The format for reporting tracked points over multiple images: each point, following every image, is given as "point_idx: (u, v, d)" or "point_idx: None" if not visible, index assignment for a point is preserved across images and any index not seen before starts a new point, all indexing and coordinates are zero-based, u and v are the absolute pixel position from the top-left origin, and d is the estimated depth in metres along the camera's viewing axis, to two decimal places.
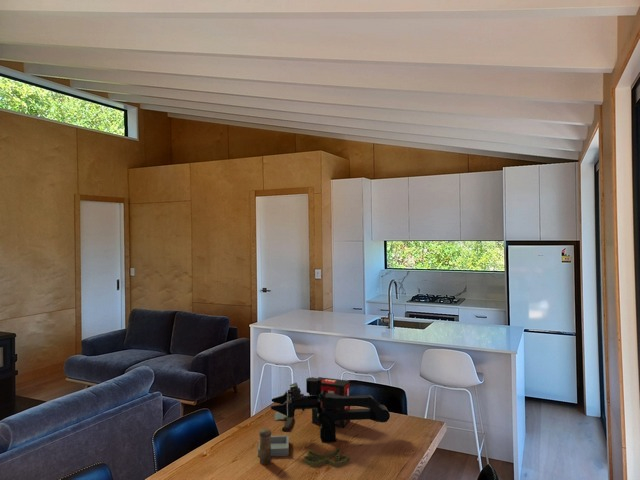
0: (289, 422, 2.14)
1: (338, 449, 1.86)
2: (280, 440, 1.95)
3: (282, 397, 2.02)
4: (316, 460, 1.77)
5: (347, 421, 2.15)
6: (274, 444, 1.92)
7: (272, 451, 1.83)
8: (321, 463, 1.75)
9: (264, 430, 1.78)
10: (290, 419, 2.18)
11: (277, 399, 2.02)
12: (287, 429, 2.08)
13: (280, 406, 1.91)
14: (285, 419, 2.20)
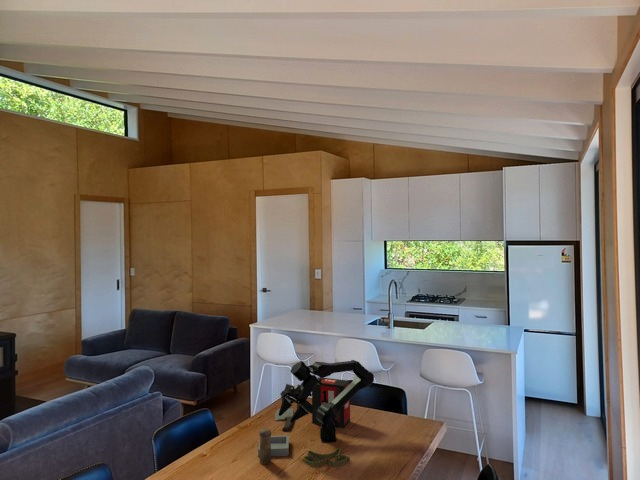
0: (289, 422, 2.14)
1: (338, 449, 1.86)
2: (280, 440, 1.95)
3: (284, 404, 1.92)
4: (316, 460, 1.77)
5: (347, 421, 2.15)
6: (274, 444, 1.92)
7: (272, 451, 1.83)
8: (321, 463, 1.75)
9: (264, 430, 1.78)
10: (290, 419, 2.17)
11: (282, 409, 1.91)
12: (287, 429, 2.08)
13: (297, 412, 1.83)
14: (285, 419, 2.20)
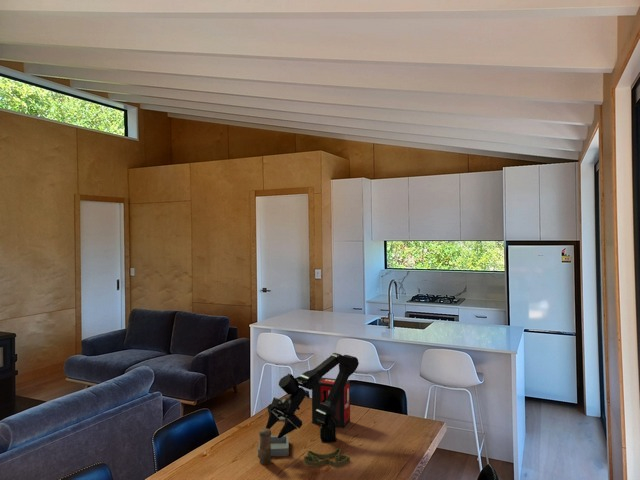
0: None
1: (338, 449, 1.86)
2: (280, 440, 1.95)
3: (271, 418, 1.86)
4: (316, 460, 1.77)
5: (347, 421, 2.15)
6: (274, 444, 1.92)
7: (272, 451, 1.83)
8: (321, 463, 1.75)
9: (264, 430, 1.78)
10: None
11: (269, 424, 1.85)
12: None
13: (285, 428, 1.77)
14: None
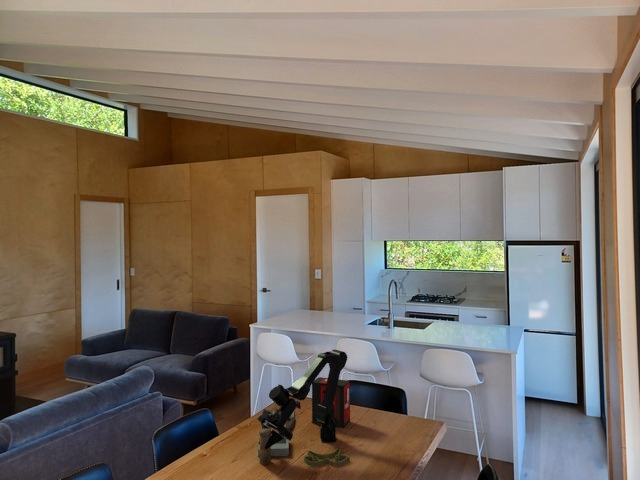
0: (290, 423, 2.13)
1: (338, 449, 1.86)
2: None
3: None
4: (316, 460, 1.77)
5: (347, 421, 2.15)
6: (274, 444, 1.92)
7: (272, 451, 1.83)
8: (321, 463, 1.75)
9: (264, 430, 1.78)
10: (291, 420, 2.17)
11: None
12: (289, 430, 2.07)
13: (272, 438, 1.76)
14: None
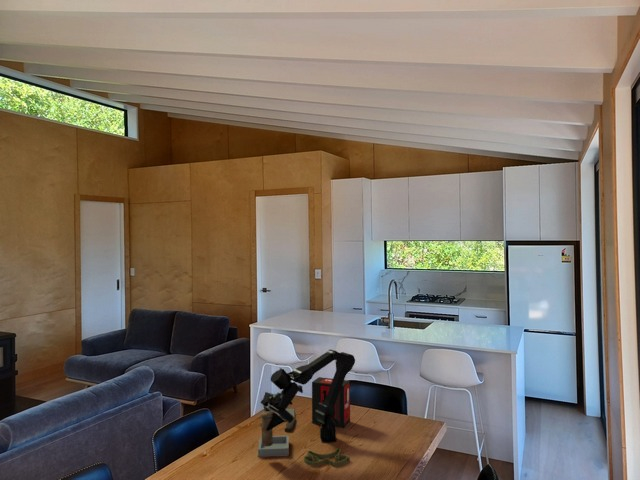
0: (291, 423, 2.13)
1: (338, 449, 1.86)
2: (280, 440, 1.95)
3: None
4: (316, 460, 1.77)
5: (347, 421, 2.15)
6: (274, 444, 1.92)
7: (272, 451, 1.83)
8: (321, 463, 1.75)
9: (266, 413, 1.81)
10: None
11: None
12: (289, 430, 2.07)
13: (273, 421, 1.79)
14: None
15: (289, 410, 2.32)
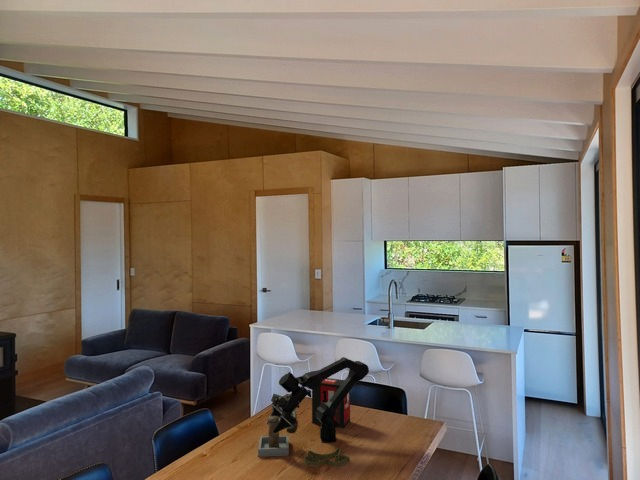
0: None
1: (338, 449, 1.86)
2: (280, 440, 1.95)
3: (273, 413, 1.94)
4: (316, 460, 1.77)
5: (347, 421, 2.15)
6: None
7: (272, 451, 1.83)
8: (321, 463, 1.75)
9: (272, 417, 1.90)
10: None
11: None
12: (291, 430, 2.06)
13: (280, 424, 1.84)
14: None
15: None
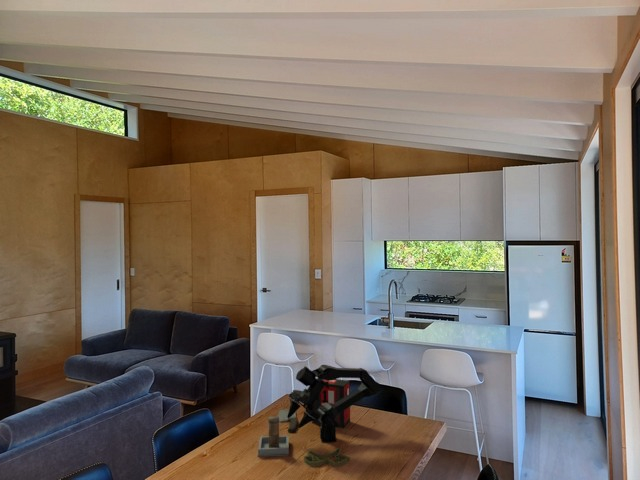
0: (294, 423, 2.12)
1: (338, 449, 1.86)
2: (280, 440, 1.95)
3: (292, 406, 1.98)
4: (316, 460, 1.77)
5: (347, 421, 2.15)
6: None
7: (272, 451, 1.83)
8: (321, 463, 1.75)
9: (273, 417, 1.90)
10: (294, 420, 2.16)
11: (291, 412, 1.97)
12: (293, 430, 2.06)
13: (304, 419, 1.88)
14: (289, 420, 2.19)
15: None
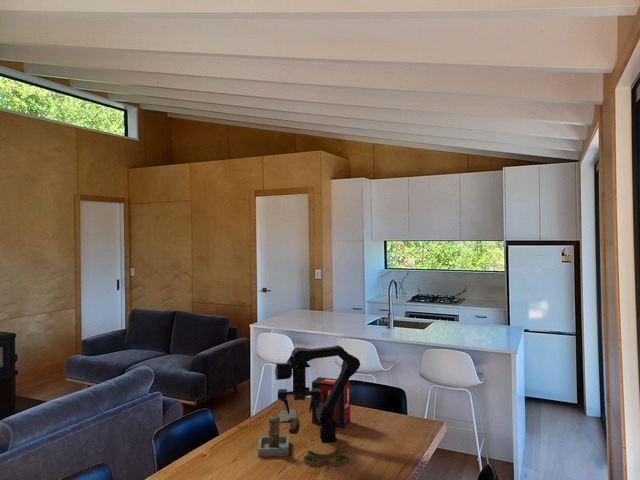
0: (295, 424, 2.12)
1: (338, 449, 1.86)
2: (280, 440, 1.95)
3: None
4: (316, 460, 1.77)
5: (347, 421, 2.15)
6: None
7: (272, 451, 1.83)
8: (321, 463, 1.75)
9: (273, 417, 1.90)
10: (295, 421, 2.16)
11: (288, 407, 1.95)
12: (294, 431, 2.06)
13: None
14: (290, 421, 2.18)
15: (291, 411, 2.31)
